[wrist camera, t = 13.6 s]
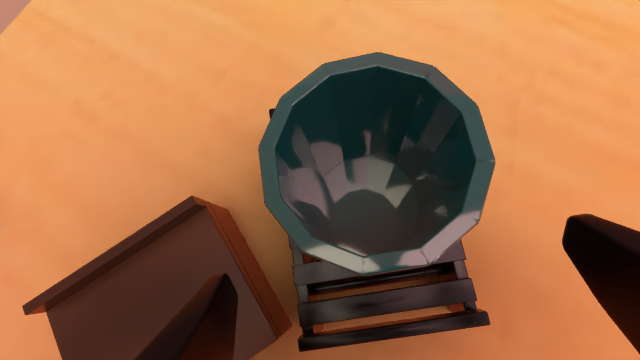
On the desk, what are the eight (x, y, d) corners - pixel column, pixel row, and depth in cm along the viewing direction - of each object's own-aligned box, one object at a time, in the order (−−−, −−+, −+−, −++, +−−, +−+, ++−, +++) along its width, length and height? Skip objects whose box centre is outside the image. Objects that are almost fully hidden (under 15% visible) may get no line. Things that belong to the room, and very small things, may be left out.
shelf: (292, 325, 20) (272, 345, 16) (144, 426, 20) (76, 478, 15) (227, 209, 23) (191, 194, 18) (94, 296, 22) (21, 305, 18)
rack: (458, 309, 19) (491, 325, 15) (313, 330, 20) (299, 352, 15) (410, 116, 23) (423, 77, 18) (287, 140, 24) (268, 108, 19)
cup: (451, 214, 17) (546, 164, 8) (359, 293, 17) (358, 327, 8) (370, 130, 19) (380, 17, 10) (285, 200, 18) (218, 145, 10)
